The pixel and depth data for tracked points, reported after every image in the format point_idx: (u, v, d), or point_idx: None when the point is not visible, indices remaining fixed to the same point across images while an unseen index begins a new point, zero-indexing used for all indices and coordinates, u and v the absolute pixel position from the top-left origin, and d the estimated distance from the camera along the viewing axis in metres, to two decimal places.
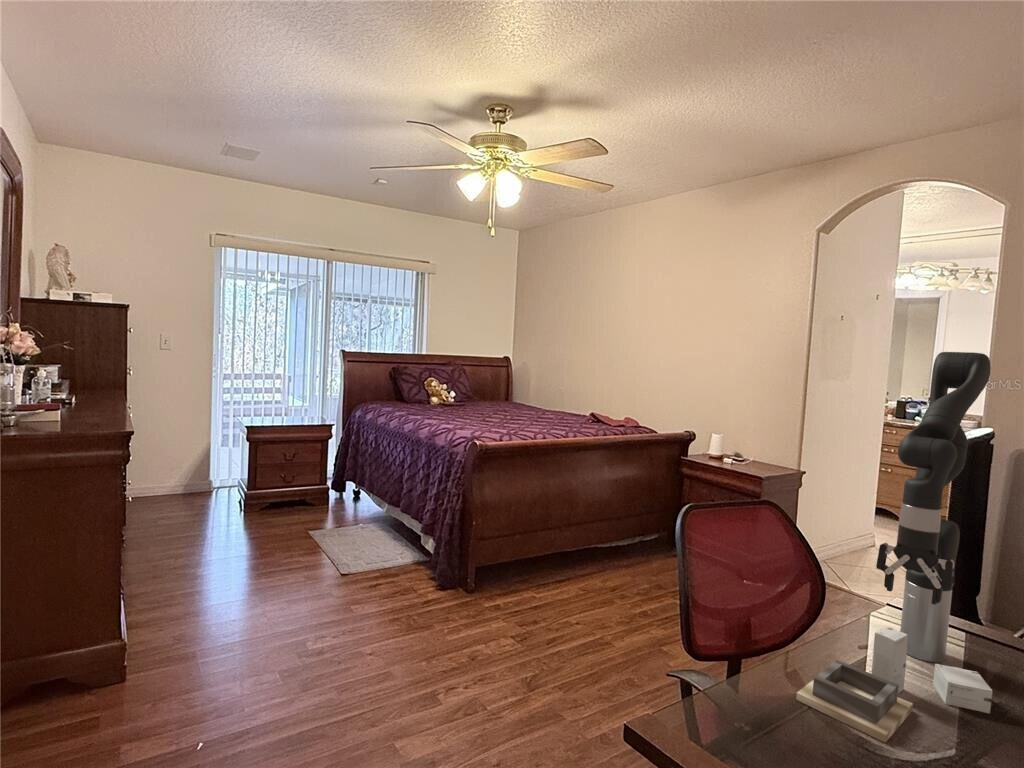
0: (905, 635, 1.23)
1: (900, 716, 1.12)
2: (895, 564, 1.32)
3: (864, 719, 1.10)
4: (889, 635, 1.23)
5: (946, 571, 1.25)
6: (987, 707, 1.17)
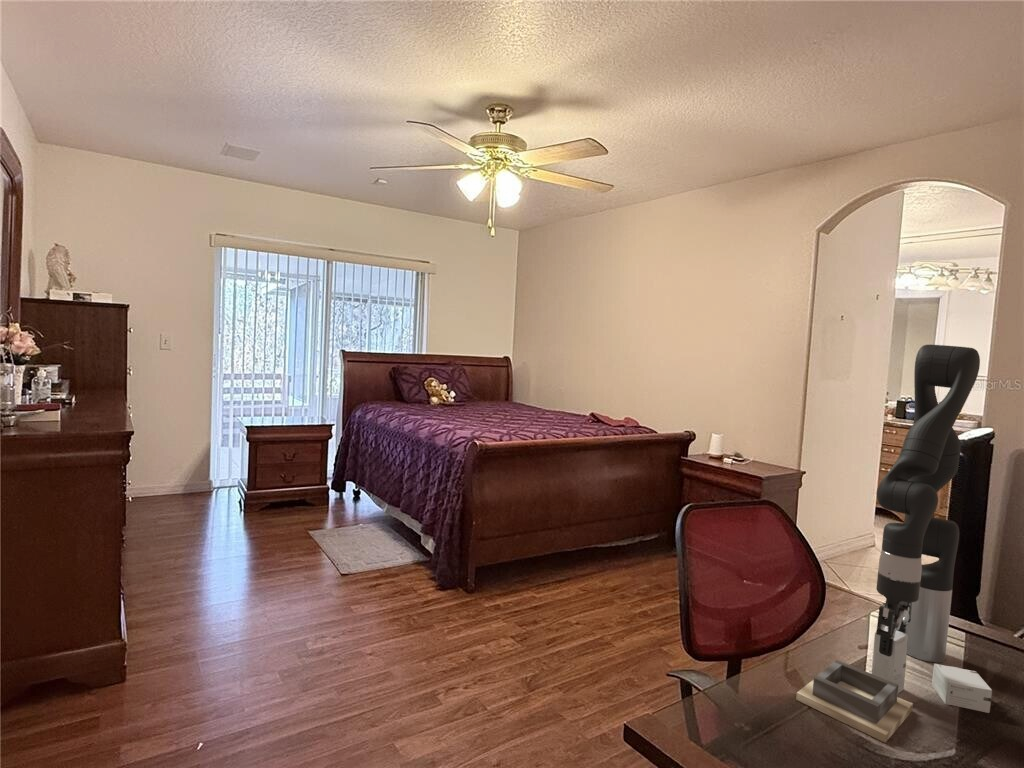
0: (905, 635, 1.23)
1: (900, 716, 1.12)
2: (899, 625, 1.19)
3: (864, 719, 1.10)
4: None
5: (910, 607, 1.26)
6: (987, 707, 1.17)
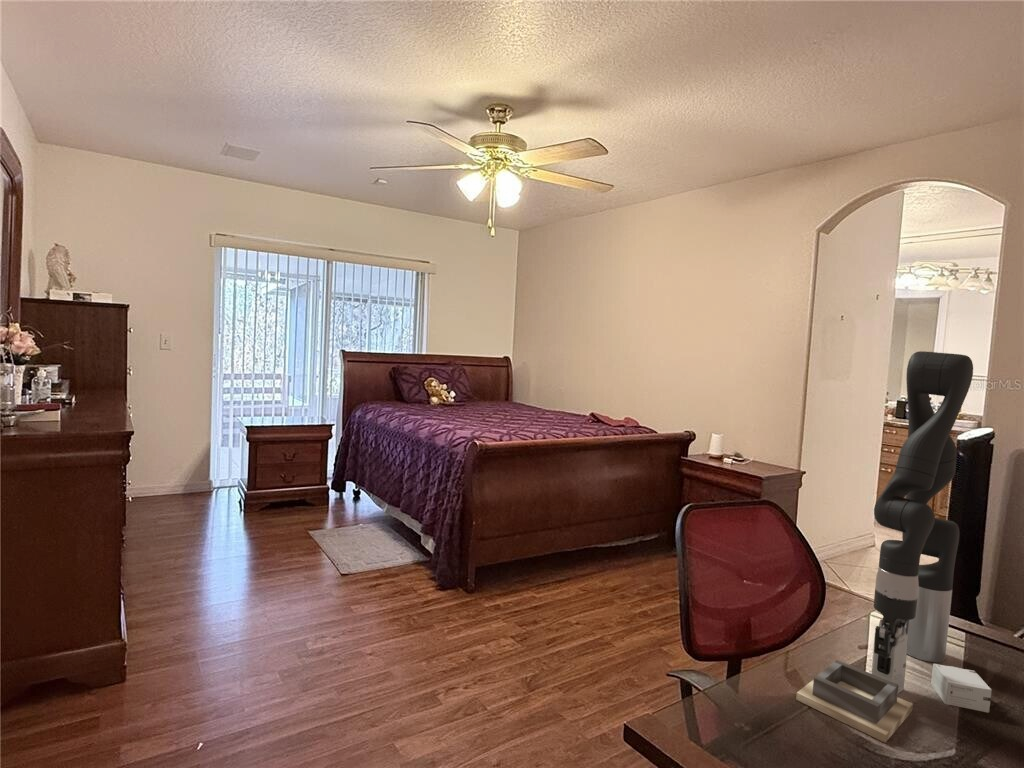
0: (905, 635, 1.23)
1: (900, 716, 1.12)
2: (896, 643, 1.20)
3: (864, 719, 1.10)
4: None
5: (907, 626, 1.26)
6: (986, 706, 1.17)
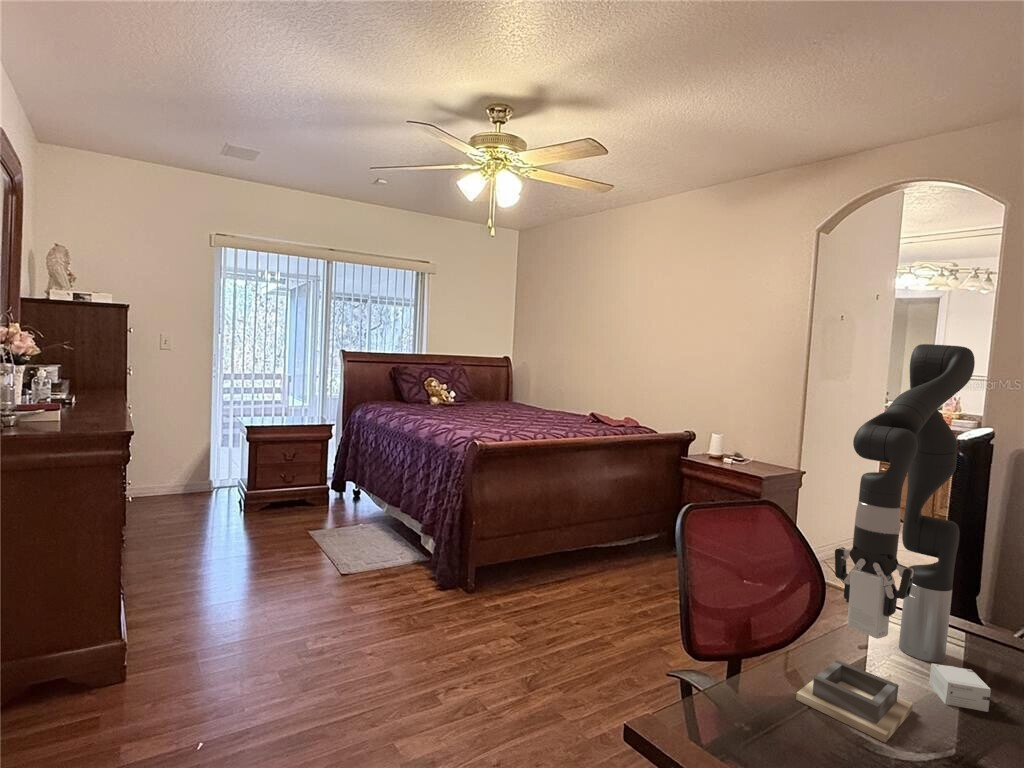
0: None
1: (900, 716, 1.12)
2: None
3: (864, 719, 1.10)
4: None
5: None
6: (985, 706, 1.18)
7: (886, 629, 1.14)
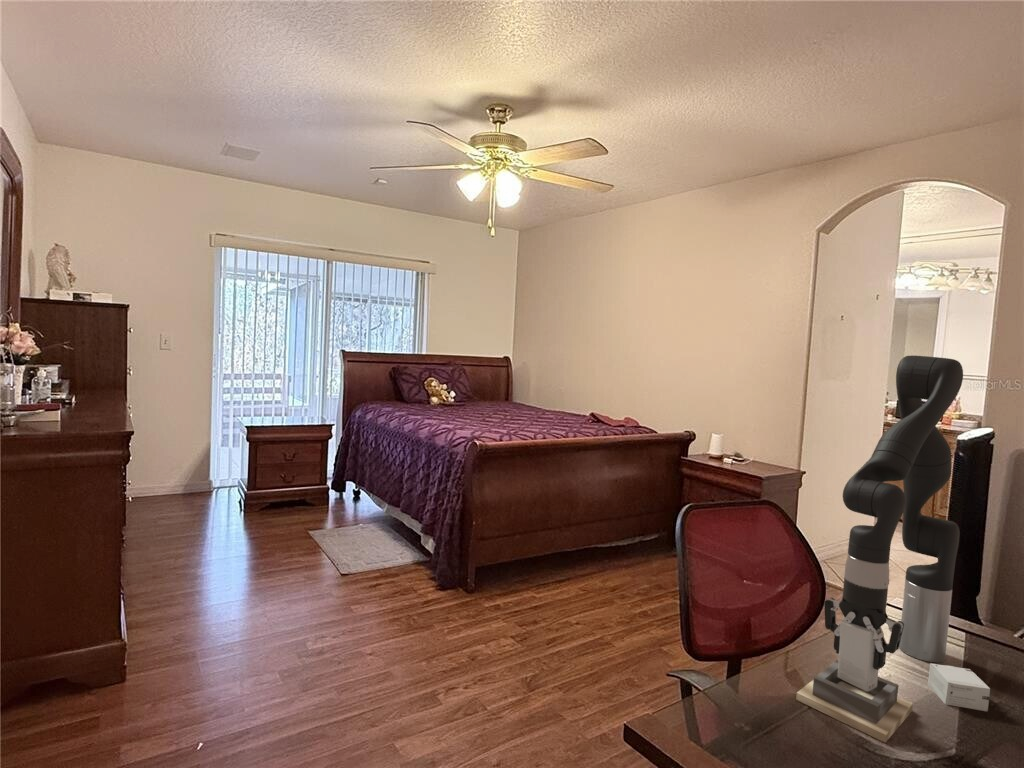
0: None
1: (900, 716, 1.12)
2: None
3: (864, 719, 1.10)
4: None
5: None
6: (985, 705, 1.18)
7: (875, 681, 1.15)
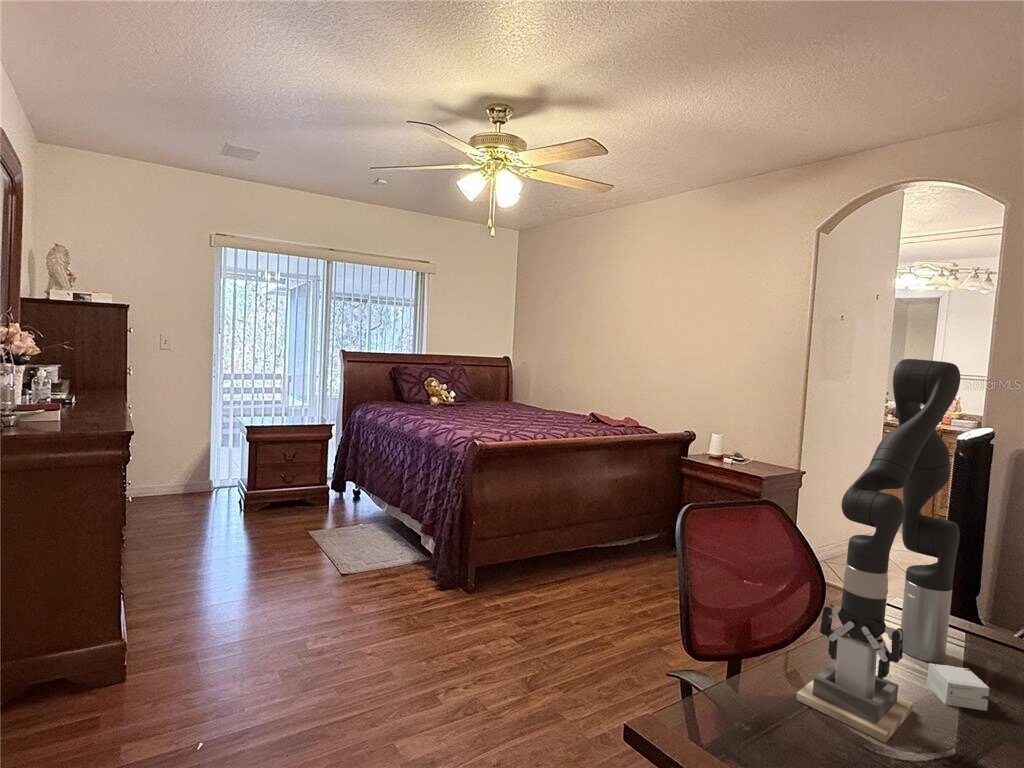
0: None
1: (900, 716, 1.12)
2: None
3: (864, 719, 1.10)
4: None
5: None
6: (984, 705, 1.18)
7: (872, 696, 1.16)
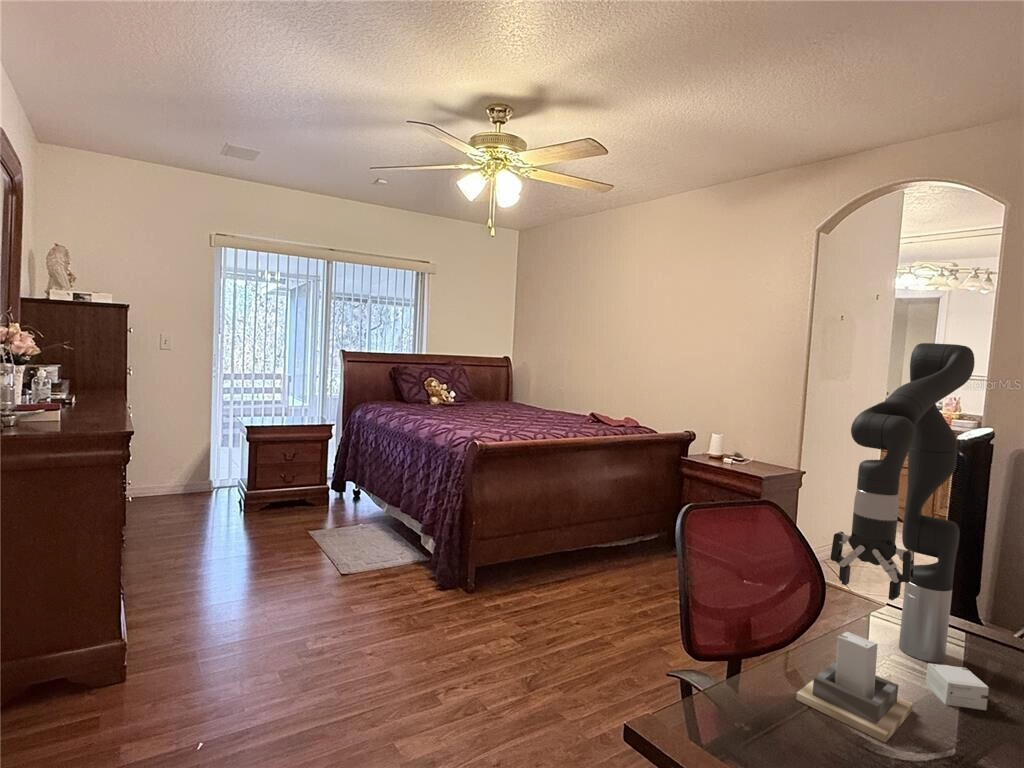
0: (851, 633, 1.20)
1: (900, 716, 1.12)
2: None
3: (864, 719, 1.10)
4: (866, 642, 1.16)
5: None
6: (984, 704, 1.18)
7: (872, 696, 1.16)
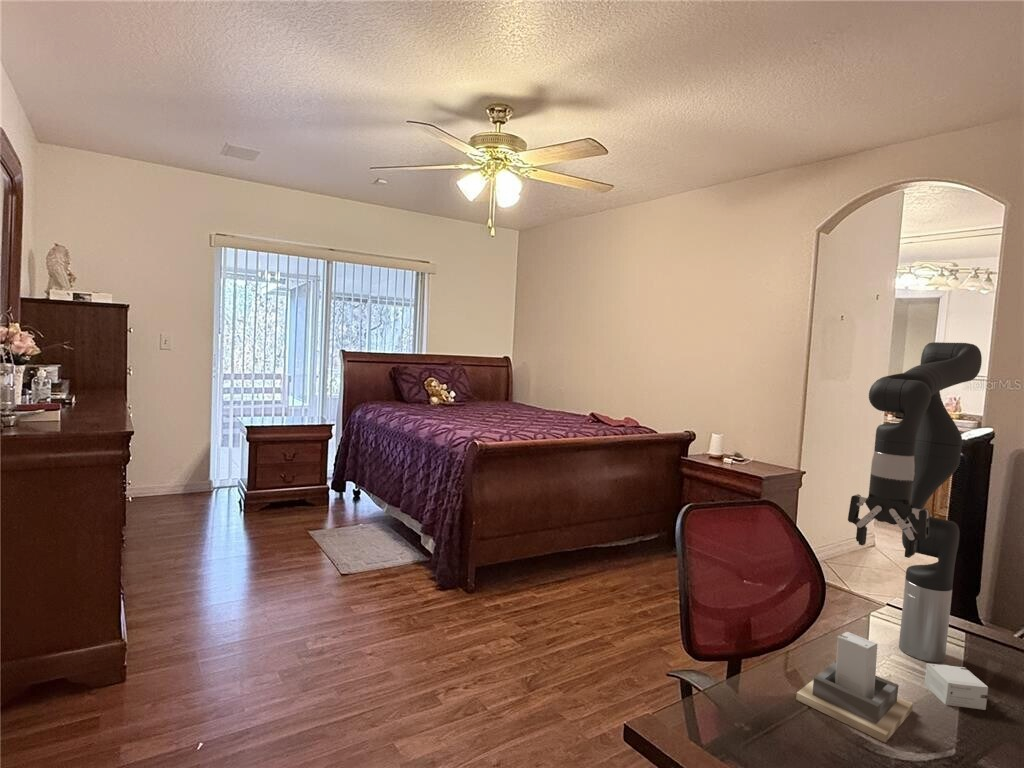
0: (851, 633, 1.20)
1: (900, 716, 1.12)
2: None
3: (864, 719, 1.10)
4: (866, 642, 1.16)
5: None
6: (983, 704, 1.18)
7: (872, 696, 1.16)
